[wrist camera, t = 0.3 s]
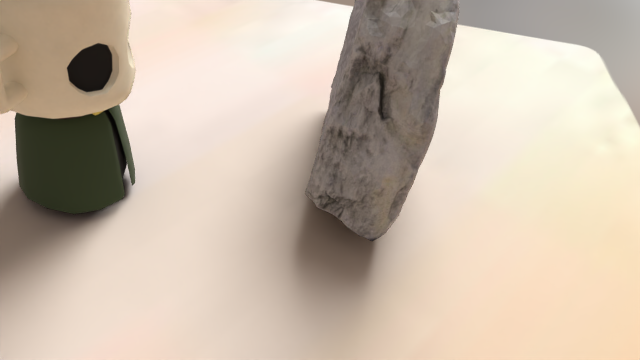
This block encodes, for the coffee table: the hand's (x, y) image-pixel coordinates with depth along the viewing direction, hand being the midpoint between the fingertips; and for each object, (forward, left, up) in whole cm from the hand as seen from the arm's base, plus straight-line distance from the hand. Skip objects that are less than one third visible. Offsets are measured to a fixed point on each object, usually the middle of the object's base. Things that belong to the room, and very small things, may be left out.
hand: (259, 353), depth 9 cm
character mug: (+20, +15, -16) cm, 30 cm away
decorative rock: (+27, -1, -16) cm, 31 cm away
